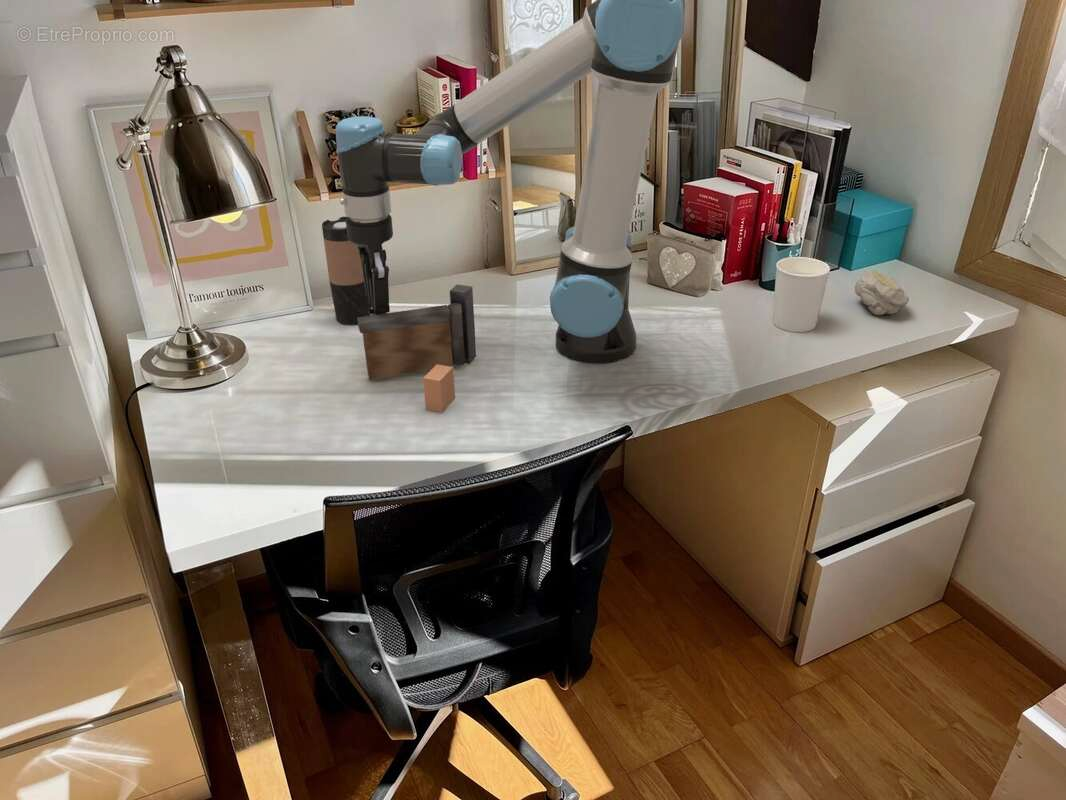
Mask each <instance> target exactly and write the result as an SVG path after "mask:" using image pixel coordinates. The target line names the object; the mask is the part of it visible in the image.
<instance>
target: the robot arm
mask: <svg viewBox="0 0 1066 800" xmlns="http://www.w3.org/2000/svg"><path fill="white" fill-rule="evenodd" d="M685 8H686V2H685V0H595V1H594V2H592V3H590V4H589V5H588V6H586V7H585V9H584V12H583V17H582V18H580V19H578V20H577V21H576V22H574V23H573V24H572V25H570V26H568V28H566V29H564V30H562V31H561V32H560V33H558V34H557V35H555V36H554V37H552V38H551V39H550V40H547V41H546V42H544V43H543V44H541V45H540V46H539V47H537V48H536V49H534V50H533V51H531V52H529V53H528V54H527V55H525V56H524V57H522V58H521V59H519V60H518V61H516V62H515V63H513V64H512V65H511V66H509V67H507V68H506V69H504V70H503V71H502V72H500V73H499V74H497V75H496V76H494V77H492V78H491V79H490V80H488V81H486V82H485V83H484V84H482V85H481V86H479V87H478V88H476V89H475V90H473V91H472V92H470V93H469V94H467V95H465V97H463V98H461V99H460V100H458V101H456V103H455V104H453V105H452V106H450V107H448V108H447V109H445V110H444V111H442V112H438V113H437V114H435V115H434V116H433V117H431V118H430V119H429V120H428V121H427V123H425V124H424V125H423V126H421V127H420V128H419V129H418V130H417V131H416V132H415V133H392V132H391V133H390V132H386V130H385V128H384V124H383V121H382V120H381V119H380V118H378V117H372V116H367V115H366V116H365V115H364V116H363V115H362V116H353V117H352V116H351V117H347V118H343V119H341V120H340V121H339V122H338V123H337V124H336V125H335V136H336V137H335V139H336V140H335V142H336V151H335V152H336V154H337V160H338V167H339V168H338V169H339V174H340V181H341V182H340V183H341V191H342V196H343V197H342V198H340V199H339V204H340V205H343V206H344V215H345V217H347V219H346V228H347V236H348V239H349V240H350V241H351V242H353V243H355V244H359V245H358V251H359V256H360V259H361V266H362V272H363V279H364V285H365V291H366V299H367V301H369V306H370V308H371V309H368V313H369V314H370V315H379V314H386V313H390V310H391V309H390V291H389V289H390V288H389V275H390V274H389V273H390V268H389V266H388V265H386V264H387V263H386V261H387V259H388V258H387V252H386V249H384V248H383V244H384V243H386V242H388V241H390V240H391V239H392V238H393V235H394V232H393V230H394V229H393V220H392V218H393V217H392V216H391V215H390V214H391V212H392V203H391V194H390V193H391V192H390V187H389V186H390V185H389V183H401V184H415V185H416V184H417V185H430V186H435V187H437V186H442V185H443V186H444V185H445V186H446V185H454V184H456V183H457V182H458V181H459V178H460V176H461V173H462V167H463V155H464V154H465V153H468V152H469V151H470V150H472V149H473V148H475V147H477V146H478V145H479V144H480V143H482V142H484V141H485V140H487V139H488V138H490V137H492V136H494V135H495V134H496V133H498V132H500V131H502V130H503V129H504V128H506V127H507V126H509V125H511V124H512V123H514V122H516V121H517V120H519V119H520V118H522V117H524V116H525V115H526V114H528V113H530V112H532V111H533V110H535V109H536V108H537V107H539V106H541V105H542V104H544V103H546V102H547V101H549V100H551V98H553V97H555V96H556V95H559V94H560V93H561V92H563V91H565V90H567V89H568V88H569V87H571V86H572V85H575V83H578V82H579V81H580V80H582V79H583V78H586V77H587V76H588V75H590V74H591V73H592V74H593V75H594V77H595V78H596V80H597V83H598V87H597V93H596V98H595V105H594V109H593V111H594V112H593V116H592V122H591V127H590V135H589V139H588V146H587V151H586V157H585V163H584V169H583V175H582V180H581V181H582V182H581V185H580V186H581V187H580V192H579V197H578V203H577V204H578V205H577V211H576V215H575V216H576V217H575V221H574V226H572V227H569V228H568V229H567V230H566V232H565V237H564V238H565V239H564V241H563V242H562V244H561V249H560V253H559V260H558V266H557V271H556V279H555V284H554V286H553V288H552V290H551V291H550V297H549V302H550V303H549V308H550V313H551V315H552V317H553V319H554V321H555V323H557V325H558V326H557V329H556V331H555V348H556V351H557V353H559V354H561V355H562V357H565V358H567V359H569V360H572V361H574V362H578V363H585V364H593V365H594V364H595V365H596V364H597V365H598V364H599V365H600V364H611V363H617V362H619V361H622V360H625V359H627V358H629V357H630V356H632V355H633V353H634V352H635V351H636V348H637V333H636V330H635V326H634V323H633V320H632V316H631V314H630V309H629V303H630V302H629V301H630V300H629V299H630V296H629V295H630V277H631V275H630V274H631V268H632V263H633V254H632V248H633V244H632V234H631V232H630V227H631V223H632V218H633V213H634V207H635V203H636V197H637V193H638V187H639V182H640V179H641V173H642V170H643V163H644V160H645V159H644V158H645V155H646V154H645V153H646V150H647V144H648V140H649V135H650V130H651V126H652V121H653V116H654V110H655V107H656V100H657V96H658V93H659V92H660V91H662V90H663V89H664V88H665V87H667V86H668V85H670V83H671V81H672V77H673V71H674V67H675V63H676V57H677V51H678V48H679V43H680V41H681V39H682V38H683V37H682V36H683V33H684V28H685V21H686V16H685V15H686V13H685V11H686V10H685Z"/></svg>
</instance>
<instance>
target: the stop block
mask: <svg viewBox="0 0 1066 800" xmlns="http://www.w3.org/2000/svg"><path fill="white" fill-rule="evenodd" d="M454 375H455V374H454V366H451V367H450V366H444V365H438V364H437V365H436V366H435V367H434V368H433V369H432V370H429V371H428V372H427V374H425V375H424V376H423V377H422V382H423V392H424V401H425V402H424V404H425V410H426V411H433V412H436V413H443V412H444V411H445V410H446V409H447V408H448V407H449V406H450V405H451V404H452V402H454V401H455V399H456V390H455V389H456V387H455V376H454Z"/></svg>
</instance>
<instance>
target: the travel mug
mask: <svg viewBox="0 0 1066 800" xmlns="http://www.w3.org/2000/svg"><path fill="white" fill-rule="evenodd" d="M346 219H347V216H341V217H339V218H338V219H336V220H330V219H326V220H325V221H323V222H322V224H321V229H322V230H321V231H322V236H323V243H324V251H325V252H324V253H325V257H326V267H327V274H328V279H329V286H330V292H331V296H332V297H331V298H332V304H333V307H334V313H335V314H334V315H335V319H336V321H337V323H339V324H341V325H345V326H356V325H357V326H358V320H357V317H364V316H371V315H370V314H369V313H368V309H372V308H370V306H369V301H367V299H366V291H365V285H364V279H363V272H362V266H361V259H360V256H359V251H358V245H359V244H355V243H353V242H351V241H350V240H349V239H348V236H347V228H346Z"/></svg>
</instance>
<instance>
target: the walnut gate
mask: <svg viewBox="0 0 1066 800" xmlns="http://www.w3.org/2000/svg"><path fill="white" fill-rule="evenodd" d="M357 320H358V325H357V326H358V330H359V333H360V334H362V341H363V347H364V355H365V363H366V370H367V371H366V372H367V376H368V379H369V380H375V379H382V378H388V377H394V376H399V375H401V376H402V375H407V374H412V373H419V372H424V371H431V370H432V369H433V368H434V367H435V366H436V365H437V364H438V365H444V366H450V367H455V366H458V367H459V366H463V365H465V364H466V363H465V355H464V340H463V324H462V308H461V304H459V303H449V304H444V305H443V304H442V305H436V306H429V307H421V308H415V309H408V310H401V311H394V312H387V313H386V314H379V315H371V316H364V317H357Z"/></svg>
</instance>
